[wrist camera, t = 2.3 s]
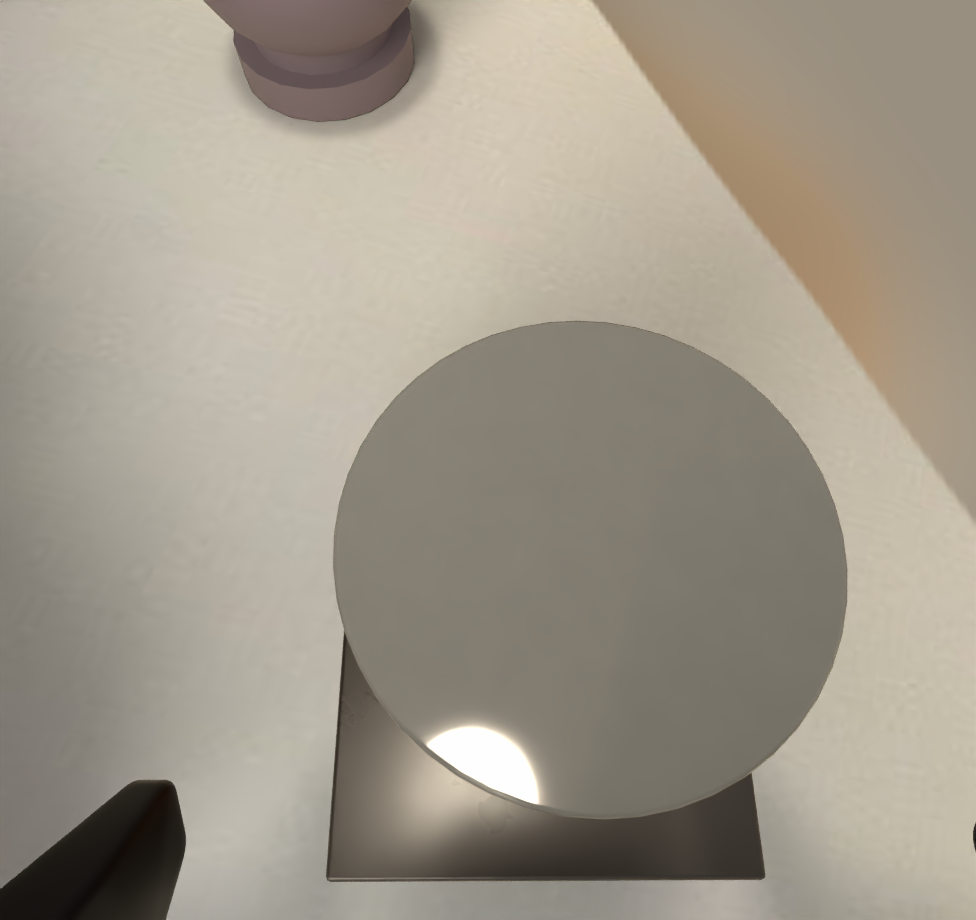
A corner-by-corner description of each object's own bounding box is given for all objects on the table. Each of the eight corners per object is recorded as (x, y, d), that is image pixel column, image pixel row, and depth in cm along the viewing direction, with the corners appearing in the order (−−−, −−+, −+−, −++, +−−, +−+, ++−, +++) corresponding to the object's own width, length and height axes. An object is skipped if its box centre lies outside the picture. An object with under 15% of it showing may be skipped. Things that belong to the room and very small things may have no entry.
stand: (707, 857, 17) (767, 880, 13) (360, 858, 17) (324, 882, 13) (670, 527, 20) (711, 470, 16) (379, 528, 20) (355, 472, 16)
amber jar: (695, 775, 14) (928, 774, 6) (422, 814, 14) (344, 859, 6) (638, 518, 16) (766, 297, 9) (400, 547, 16) (322, 345, 8)
